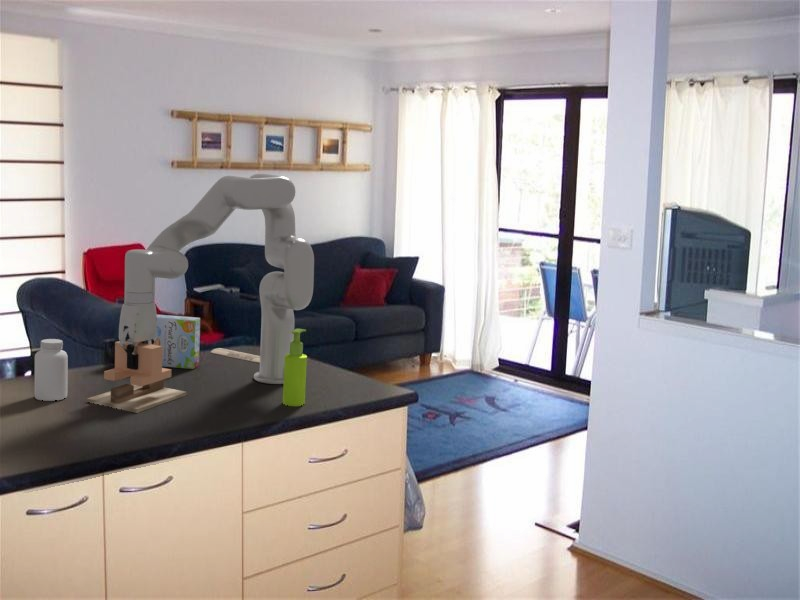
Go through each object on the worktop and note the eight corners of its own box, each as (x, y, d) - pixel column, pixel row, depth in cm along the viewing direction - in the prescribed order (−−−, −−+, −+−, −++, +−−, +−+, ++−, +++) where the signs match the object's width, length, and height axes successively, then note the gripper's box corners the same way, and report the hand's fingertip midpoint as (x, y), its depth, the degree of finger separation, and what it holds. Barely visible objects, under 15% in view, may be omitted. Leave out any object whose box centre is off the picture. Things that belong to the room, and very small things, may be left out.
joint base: (186, 395, 247) (186, 379, 246) (137, 413, 229) (137, 395, 228) (138, 385, 253) (139, 369, 252) (86, 402, 235) (87, 385, 234)
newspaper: (280, 364, 291) (281, 358, 291) (267, 368, 285) (267, 362, 284) (222, 352, 302) (222, 346, 302) (208, 355, 296) (208, 350, 295)
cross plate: (171, 376, 243) (172, 343, 242) (141, 386, 232) (142, 351, 231) (135, 369, 248) (135, 337, 246) (104, 378, 237) (104, 344, 235)
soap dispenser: (310, 401, 249) (313, 328, 245) (298, 407, 242) (302, 333, 239) (290, 398, 250) (293, 326, 247) (278, 404, 244) (282, 330, 241)
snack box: (199, 365, 280) (201, 317, 277) (193, 370, 274) (195, 320, 272) (132, 359, 282) (133, 311, 279) (125, 364, 276) (125, 314, 274)
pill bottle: (74, 396, 239) (74, 340, 237) (50, 403, 232) (50, 345, 229) (51, 391, 242) (51, 336, 240) (27, 398, 235) (27, 341, 233)
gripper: (149, 292, 246) (147, 359, 249) (105, 300, 230) (104, 371, 233) (172, 295, 243) (170, 363, 246) (129, 303, 227) (128, 375, 230)
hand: (138, 366), depth 239 cm, fingers closed on cross plate, 4 cm apart
